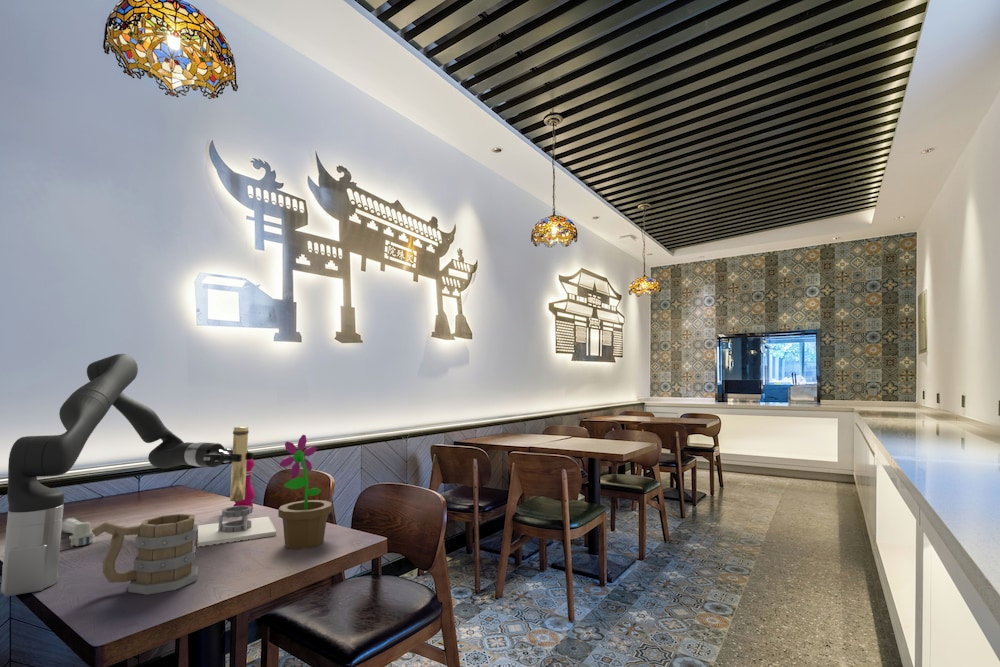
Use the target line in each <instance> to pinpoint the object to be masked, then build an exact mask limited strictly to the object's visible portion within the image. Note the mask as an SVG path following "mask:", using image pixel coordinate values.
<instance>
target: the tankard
mask: <svg viewBox="0 0 1000 667" xmlns="http://www.w3.org/2000/svg"><path fill="white" fill-rule="evenodd" d="M195 519H196V516H195V514H190V513H189V514H188V513H175V514H165V515H161V516H160V515H158V516H155V517H151V518H148V519H144V520H143V521H141V524H140V525H133V526H122V525H119V524H118V525H117V524H115V523H111V522H108V521H105V522H103V523H101V524H99V525H98V526H95V527H94V528H93V529H91V532H93V534H94V535H93V536H95V537H98V536H100V535H101V534H103V533H107V534H110V535H111V540H110V545H109V547H108V550H107V553H106V555H105V556H104V558H103V561H102V572H101V573H103V576H104V577H105V579H106V581H107V582H108V583H110V584H112V583H117V584H118V583H119V584H120V583H121V584H122V583H127V582H129V584H128V588H127V590H128V593H133V594H138V595H145V596H149V595H154V594H155V595H156V594H160V593H161V594H162V593H167V592H173V591H176V590H178V589H181V588H183V587H185V586H189V585H190V584H193V583H194V582H196V581H197V578H198V573H199V566H197V565H193V563H194V562H195V559H196V555H197V546H196V545H194V541H196V538H197V536H198V524H195ZM134 535H136V536H135V546H134V548H136V549H137V551H138V552H137V555H136V557H135V558H134V560H133V569H130V570H127V571H118V570H117V568H116V560H117V558H118V556H119V554H120V552H121V550H122V548H123V545H124V539H125V536H134Z"/></svg>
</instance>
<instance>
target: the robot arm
mask: <svg viewBox="0 0 1000 667" xmlns="http://www.w3.org/2000/svg"><path fill="white" fill-rule="evenodd" d="M138 369H139V368H138V364H137V361H136V359H134V357H132V356H131V355H130V354H126V353H116V354H114V355H111V356H108V357H104V358H102V359H99V360H98V359H97V360H95V361H93V362H91V363H89V364H88V365H87V367H86V376H87V378H88V380H89V381H88V382H87V383H85V384H84V385H81V386H80V387H79V388H78V389H76V390H74V392H72V393H71V394H70V395H69V397H68V398H67V399H66V400H65V401H64V402H63V403H62V405H61V407H60V408H59V414H58V415H59V419H60V422H61V424H62V425H63V427H64V429H65V430H66V431H65V432H63V433H62V434H55V435H28V436H22V437H19V438H17V439H16V440H15V441H14V443H13V444H12V447H10V452H9V454H8V455H9V456H8V465H7V466H8V467H7V468H8V472H7V502H8V509H7V510H8V511H7V519H6V522H7V523H6V527H5V528H6V529H5V531H6V532H5V541H4V551H3V562H2V570H1V571H2V572H1V574H2V575H1V584H0V585H1V586H0V594H2V595H3V596H4V597H11V596H17V595H22V594H28V593H34V592H40V591H43V590H44V589H47V588H49V587H51V586H54V585H55V584H56V583H57V582H58V574H59V565H60V551H61V539H62V531H61V529H62V521H63V518H64V517H63V515H64V505H65V504H64V503H65V494H64V492H63V491H61V490H59V489H53V488H52V487H49V486H46V485H44V484H42V483H40V482H39V481H38V478H40V477H41V478H42V477H43V478H44V477H55V476H56V477H57V476H62V475H65V474H67V473H68V472H69V471H70V470H71V469H72V468H73V466H74V465H75V463H76V462H77V460H78V459H79V456H80V455H81V452H82V451H83V449H84V447H85V445H86V443H87V441H88V440H89V438H90V436H91V435H92V433H93V432H94V431H95V429H96V428H97V426H98V425H99V424H100V422H101V421H102V420H103V419H104V417H105V416H106V414H108V412H109V410H110V409H111V407H112V406H113V407H114V408H115V409H116V410H118V411H119V412H120V413H121V415H123V416H124V418H126V420H127V421H128V423H130V425H131V426H132V428H134V430H135V432H136V433H137V434H138V436H139V437H140V439H141V440H142V442H144V443H146V444H153V443H154V442H157V441H158V440H159V441H160V440H161V441H162V442H161V443H159V444H158V445H157V446H155V447H154V448H153V449H151V451H150V452H149V453H148V458H147V459H148V462H149V464H150V465H152V466H153V467H155V468H158V469H170V468H174V467H179V466H182V465H186V466H194V467H203V468H216V467H219V466H220V465H221V464H223V463H225V464H227V463H230V462H231V463H232V462H241V460H242V455H241V454H232V453H233V448H232V449H231V448H225V447H224V446H223V445H222V444H221V443H218V442H205V441H204V442H203V441H201V442H189V441H188V442H184V441H183V440H182V439H181V438H180V437H178V436H177V435H176V434H174V433H173V432H172V431H171V430H169V428H167V427H166V425H165V424H164V422H163V421H162V420H161V418H160V417H159V416H158V414H157V413H156V411H154V410H153V409H152V408H150V407H149V406H147V405H145V404H144V403H141V402H139V401H137V400H135V399H133V398H131V397H130V396H128V395H127V394H125V393H124V392H123V391H124V390H125V389H126V388H127V387H128V386H129V385H130V384H132V382H133V381H134V380H136V378H137V376H138V372H139V370H138ZM254 454H255V452H252V451H251V452H250V451H249V450H248V449H247V460H252V459H253V460H254Z"/></svg>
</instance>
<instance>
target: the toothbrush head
mask: <svg viewBox="0 0 1000 667" xmlns="http://www.w3.org/2000/svg"><path fill="white" fill-rule="evenodd" d="M61 533H63V534H68V533H69V534H72V535H70V536H69V540H70V547H74V546H75V547H79V546H85V545H89V544H92V543H93V539H94V538H93V537H94V536H95V535H94V534H93V532H92V523H91V522H90V521H87V522H81V521H79V520H78V519H77V518H76V517H73V516H72V517H68V518H64V519H62V529H61ZM91 542H92V543H91Z"/></svg>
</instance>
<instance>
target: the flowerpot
mask: <svg viewBox="0 0 1000 667" xmlns="http://www.w3.org/2000/svg"><path fill="white" fill-rule="evenodd" d="M307 442H308V440H307V436H306V434H302V435H301V436H300V438H299V439H298V443H297V447H296V445H295V444H294V443H293V442H291V441H286V442H284V448H285V450H286V451H287V452H288V453H289V454H293V456H287V457H285V458H283V459H282V460H281V461H280V462H279V466H280V467H281V468H282V467H285V468H287V467H289V466H291V465H292V467H291V469H290V477H291V479H290V480H289V481H287V482H286V483H284V485H283V487H285V488H287V489H290V490H299V489H301V488H303V487H304V497H303V498H304V500H300V501H293V502H289V503H286V504H282V505H280V507H279V508H278V514H277V515H278V516H277V517H278V518H281V519H282V524H283V525H282V526H283V528H282V529H283V538H284V545H285V547H286V548H288V549H294V550H299V549H309V548H313V547H317V546H319V545H321V544H323V543H324V539H325V535H326V534H325V533H326V527H327V521H328V520H327V519H328V515H330V514H331V513H332V510H333V508H332V507H333V503H332V502H330V501H328V500H321V499H320V500H319V499H311V500H309V496H310V497H313V496H317V495H318V494H320V493H321V489H319V488H318V487H312V488H309V478H308V471H309V472H311V471H312V469H313V465H312V463H311V461H309V460H308V459H305V457H310V456H311V455H312V456H313V455H314V454H315V453H316V451H317V447H316V446H309V447H306V444H307ZM297 448H298V449H297ZM303 450H304V451H303ZM300 463H301V466H300ZM301 467H302V470H303V477H299V476H298V475H299V472H300V469H301Z"/></svg>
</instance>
